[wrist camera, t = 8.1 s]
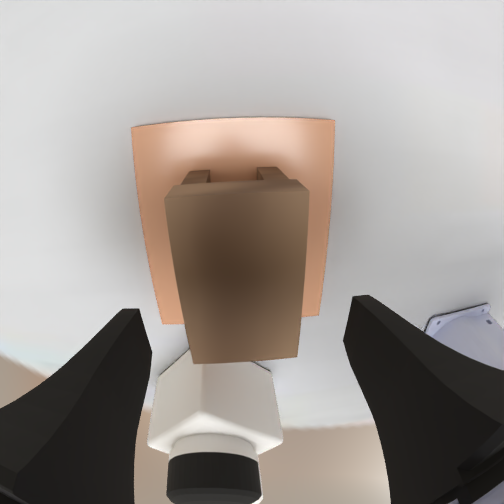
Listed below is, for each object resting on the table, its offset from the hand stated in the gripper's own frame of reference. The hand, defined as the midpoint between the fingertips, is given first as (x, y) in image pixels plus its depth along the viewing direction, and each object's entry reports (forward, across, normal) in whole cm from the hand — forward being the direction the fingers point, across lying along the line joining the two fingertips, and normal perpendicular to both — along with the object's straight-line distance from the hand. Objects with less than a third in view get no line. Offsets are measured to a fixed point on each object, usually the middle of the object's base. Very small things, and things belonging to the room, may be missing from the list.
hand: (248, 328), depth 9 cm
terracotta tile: (+9, 0, 0) cm, 9 cm away
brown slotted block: (+8, 0, 0) cm, 8 cm away
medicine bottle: (+9, +3, +13) cm, 16 cm away
